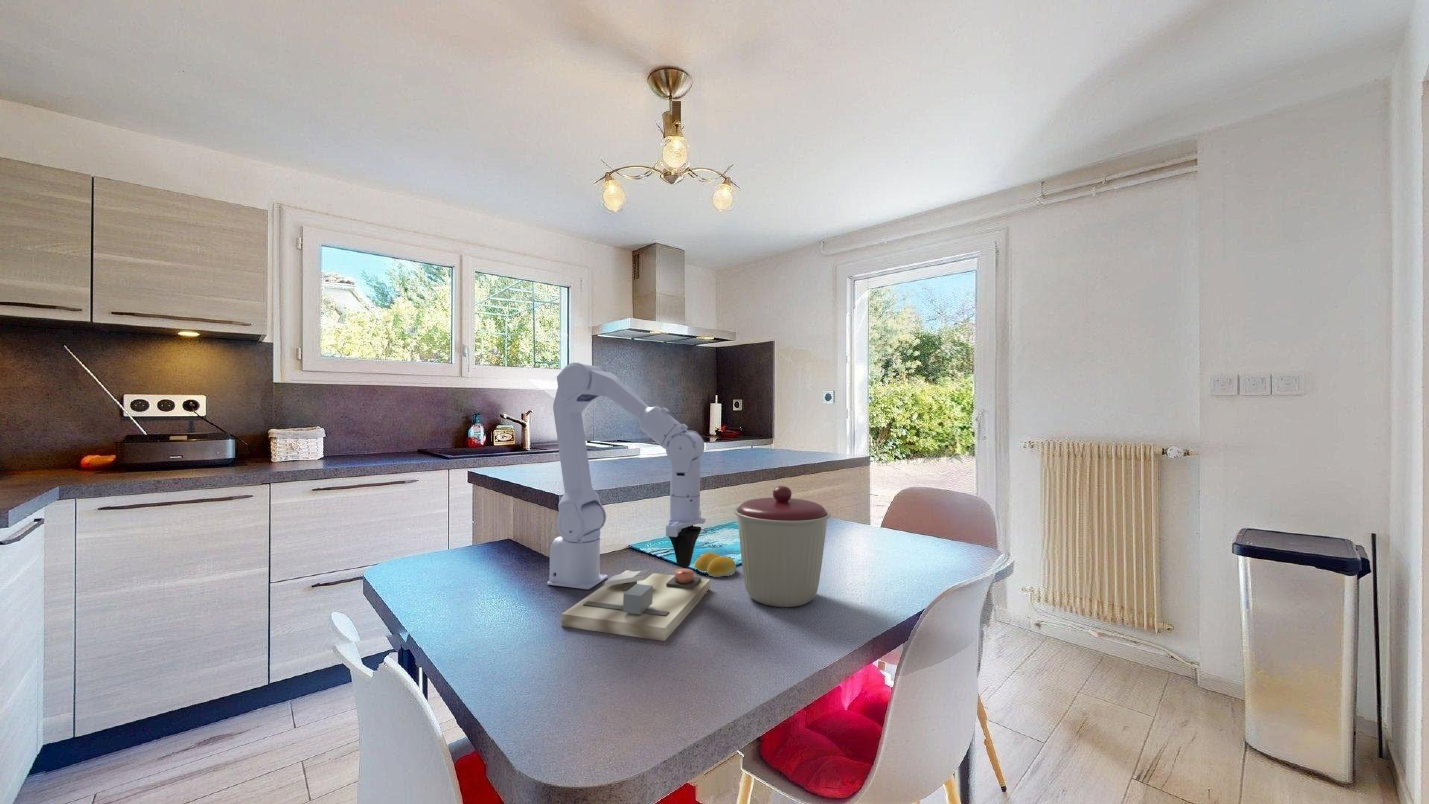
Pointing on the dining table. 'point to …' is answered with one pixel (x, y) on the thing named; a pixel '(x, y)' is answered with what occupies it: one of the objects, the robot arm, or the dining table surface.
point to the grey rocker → (629, 577)
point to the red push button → (683, 575)
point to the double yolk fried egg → (715, 564)
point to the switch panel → (653, 623)
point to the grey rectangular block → (637, 599)
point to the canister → (781, 548)
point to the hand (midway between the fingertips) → (683, 565)
